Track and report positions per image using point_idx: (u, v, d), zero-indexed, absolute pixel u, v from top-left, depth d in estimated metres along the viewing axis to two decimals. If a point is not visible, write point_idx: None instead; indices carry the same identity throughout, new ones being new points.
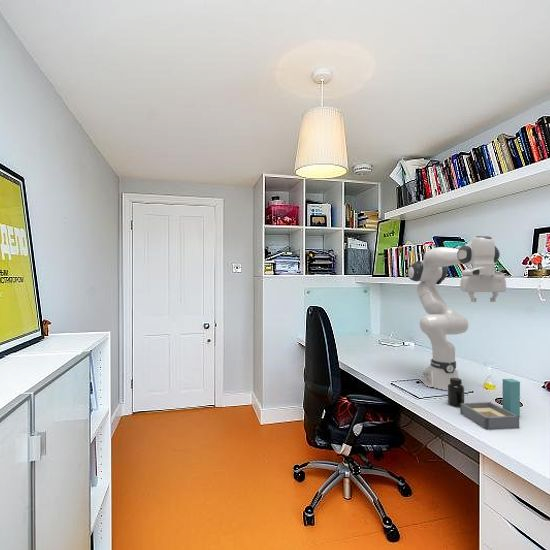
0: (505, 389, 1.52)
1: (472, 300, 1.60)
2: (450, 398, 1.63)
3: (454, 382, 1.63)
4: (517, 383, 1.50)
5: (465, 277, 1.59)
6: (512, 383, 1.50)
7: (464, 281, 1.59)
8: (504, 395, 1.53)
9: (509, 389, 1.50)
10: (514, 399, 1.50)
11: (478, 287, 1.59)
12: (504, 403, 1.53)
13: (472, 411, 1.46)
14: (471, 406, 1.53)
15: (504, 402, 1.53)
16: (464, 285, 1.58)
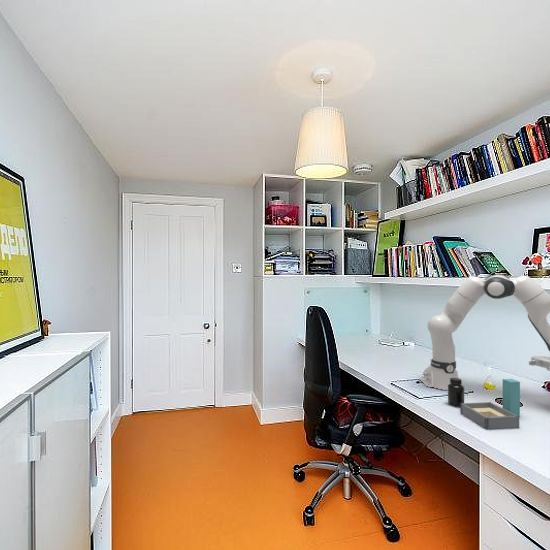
0: (505, 389, 1.53)
1: None
2: (450, 398, 1.63)
3: (454, 382, 1.63)
4: (517, 383, 1.50)
5: None
6: (512, 383, 1.50)
7: None
8: (504, 395, 1.53)
9: (509, 389, 1.50)
10: (514, 399, 1.50)
11: None
12: (504, 403, 1.53)
13: (472, 411, 1.46)
14: (471, 406, 1.53)
15: (504, 402, 1.53)
16: None
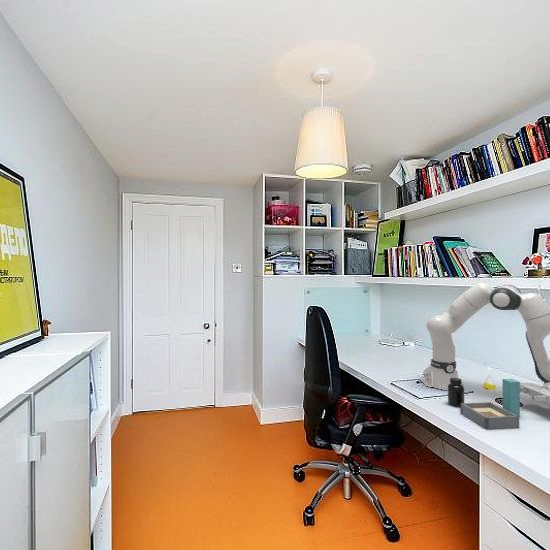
0: (505, 389, 1.52)
1: (536, 399, 1.48)
2: (450, 398, 1.63)
3: (454, 382, 1.63)
4: (517, 383, 1.50)
5: None
6: (512, 383, 1.50)
7: None
8: (504, 395, 1.53)
9: (509, 389, 1.50)
10: (514, 399, 1.50)
11: None
12: (504, 403, 1.53)
13: (472, 411, 1.46)
14: (471, 406, 1.53)
15: (504, 402, 1.53)
16: None
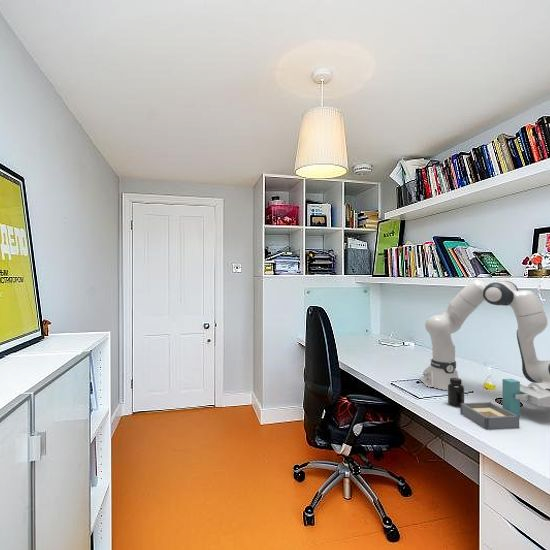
0: (505, 389, 1.53)
1: (517, 398, 1.49)
2: (450, 398, 1.63)
3: (454, 382, 1.63)
4: (517, 383, 1.50)
5: None
6: (512, 383, 1.50)
7: (548, 403, 1.43)
8: (504, 395, 1.53)
9: (509, 389, 1.50)
10: (514, 399, 1.50)
11: None
12: (504, 403, 1.53)
13: (472, 411, 1.46)
14: (471, 406, 1.53)
15: (504, 402, 1.53)
16: (545, 405, 1.43)
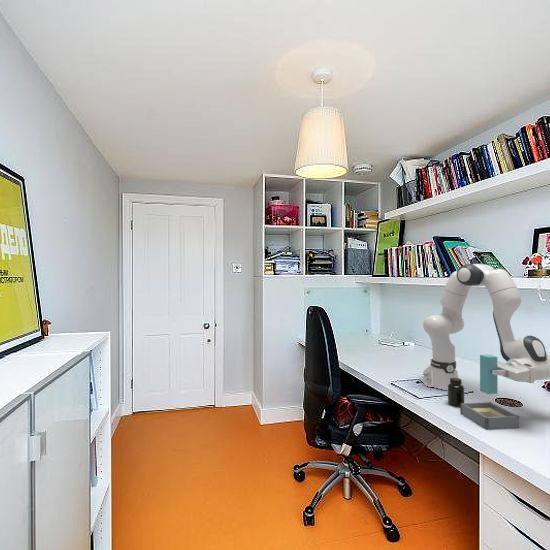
0: (482, 365, 1.47)
1: (494, 374, 1.43)
2: (450, 398, 1.63)
3: (454, 382, 1.63)
4: (494, 358, 1.45)
5: (529, 377, 1.39)
6: (489, 358, 1.44)
7: (525, 378, 1.38)
8: (482, 372, 1.47)
9: (486, 365, 1.45)
10: (492, 375, 1.45)
11: None
12: (481, 380, 1.48)
13: (472, 411, 1.46)
14: (471, 406, 1.53)
15: (481, 379, 1.48)
16: (522, 379, 1.38)
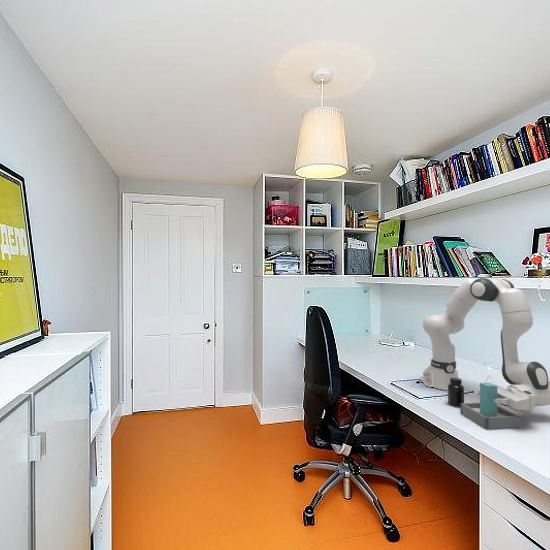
0: (482, 394, 1.47)
1: (497, 402, 1.41)
2: (450, 398, 1.63)
3: (454, 382, 1.63)
4: (494, 387, 1.45)
5: (529, 405, 1.39)
6: (489, 387, 1.44)
7: (525, 406, 1.38)
8: (482, 400, 1.47)
9: (486, 393, 1.45)
10: (491, 403, 1.45)
11: None
12: (481, 408, 1.48)
13: (472, 411, 1.46)
14: (471, 406, 1.53)
15: (481, 407, 1.48)
16: (522, 408, 1.38)
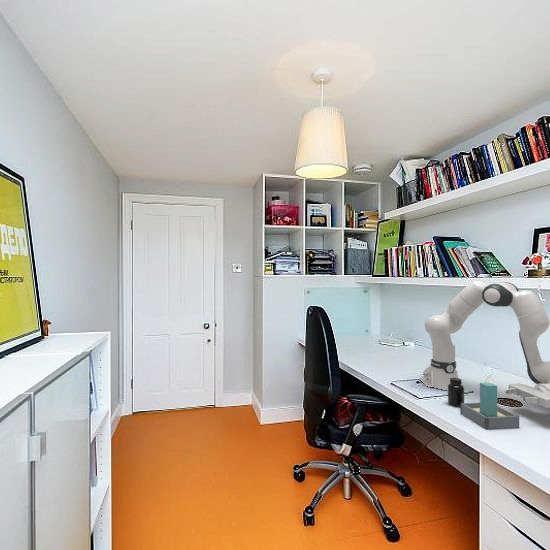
0: (482, 394, 1.47)
1: (527, 401, 1.43)
2: (450, 398, 1.63)
3: (454, 382, 1.63)
4: (494, 387, 1.45)
5: None
6: (489, 387, 1.44)
7: None
8: (482, 400, 1.47)
9: (486, 393, 1.45)
10: (491, 403, 1.45)
11: None
12: (481, 408, 1.48)
13: (472, 411, 1.46)
14: (471, 406, 1.53)
15: (481, 407, 1.48)
16: None
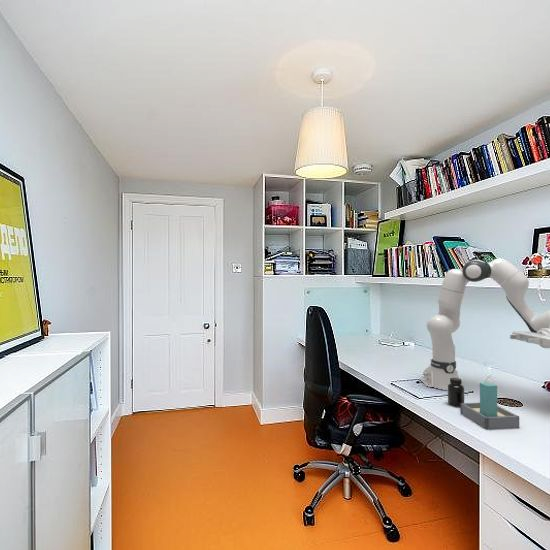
0: (482, 394, 1.47)
1: (530, 342, 1.52)
2: (450, 398, 1.63)
3: (454, 382, 1.63)
4: (494, 387, 1.45)
5: None
6: (489, 387, 1.44)
7: None
8: (482, 400, 1.47)
9: (486, 393, 1.45)
10: (491, 403, 1.45)
11: None
12: (481, 408, 1.48)
13: (472, 411, 1.46)
14: (471, 406, 1.53)
15: (481, 407, 1.48)
16: None
